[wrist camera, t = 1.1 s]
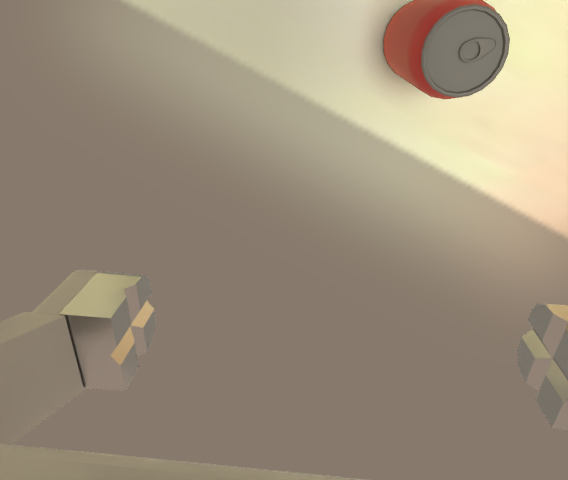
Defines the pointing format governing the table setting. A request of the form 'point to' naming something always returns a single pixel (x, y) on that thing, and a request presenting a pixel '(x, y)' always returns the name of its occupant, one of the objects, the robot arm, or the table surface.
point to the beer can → (447, 46)
